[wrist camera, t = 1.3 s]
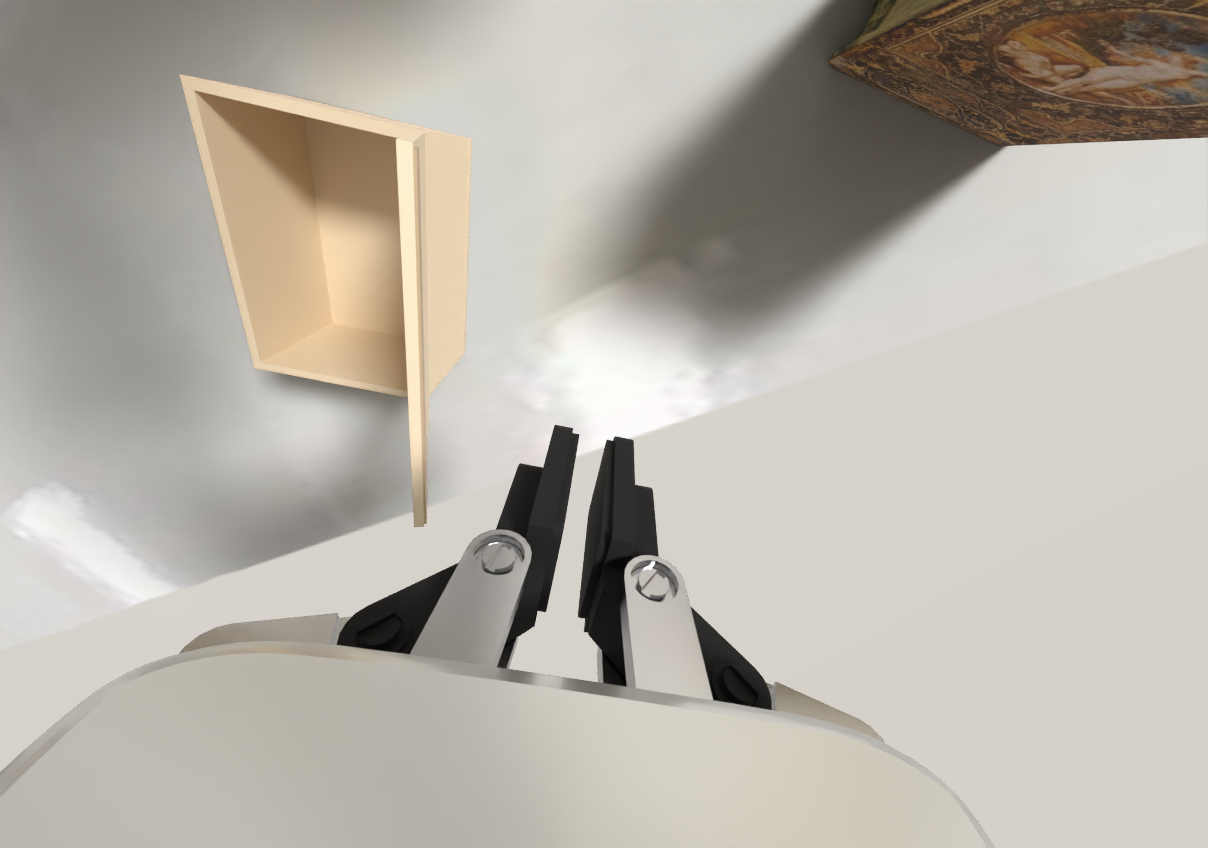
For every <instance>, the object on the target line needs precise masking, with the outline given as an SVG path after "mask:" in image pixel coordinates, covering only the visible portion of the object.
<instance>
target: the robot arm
mask: <svg viewBox="0 0 1208 848" xmlns="http://www.w3.org/2000/svg"><path fill="white" fill-rule="evenodd" d="M572 431H573V428H569V427H564V426H559V425H555V426H554V430H553V433H552V437H551V441H550V445H549V449H548V452H547V456H546V460H545V464H544V467H543V468H542V467H536V466H531V465H525V464H519V466H518V468H517V471H516V474H515V477H514V480H513V482H512V485H511V488H510V491H509V494H508V497H507V500H506V502H505V506H504V508H503V511H502V514H501V517H500V520H499V522H498V525H497V528H496V530H490V531H488V532H485V533H482V534H480V535H479V536H477V537H476V538H474V539H473V540H472V542H471V543H470V544H469V545H468V547H467V549H466V551H465V553H464V555H463V557H462V558H461V560H460V562H459V563H457V564H455V565H453V566H451V567H449V568H447V569H445V570H442V571H440V572H438V573H436V574H434V575H432V576H430V577H428V578H426V579H423V580H421V581H419V582H417V583H415V584H413V585H411V586H409V587H407V588H404V589H403V590H400V591H398V592H396V593H394V594H392V595H390V596H388V597H386V598H383V599H381V600H379V601H377V602H375V603H373V604H371V605H369V606H367V607H365V608H364V609H362V610H360V611H359V612H357V613H355V615H353V616H352V617H344V618H339V617H338V613H334V614H324V615H315V616H304V617H294V618H284V619H275V620H264V621H254V622H244V623H234V624H229V625H224V626H220V627H216V628H214V629H212V630H209V631H207V632H205V633H203V634H201V635H199V636H198V637H197V638H195V639H194V640H193V641H191V642H190V643H189V644H188V645H186V646H185V647H184V648H183V649H182V651H181V652H180V653H179V654H177V655H173V656H170V657H166V658H163V659H160V660H157V661H154V662H151V663H148V664H145V665H143V666H141V667H139V668H136V669H134V670H132V671H130V672H127V673H125V674H123V675H122V676H120V677H118V678H117V679H115V680H113V681H111V682H110V683H108V684H106V685H105V686H103V687H102V688H100V689H99V690H97V691H96V692H95V693H93V694H92V695H90V696H89V697H88V698H86V699H85V700H84V701H82V702H81V703H80V704H78V705H77V706H76V707H74V708H73V709H72V710H71V711H70V712H69V713H67V714H66V715H64V716H63V717H62V718H61V719H60V720H59V721H57V722H56V723H55V724H54V725H53V726H52V727H50V728H49V729H48V730H47V731H46V732H45V733H43V734H42V735H41V736H40V737H39V738H38V739H37V740H35V741H34V742H33V743H32V744H31V745H30V746H28V747H27V748H26V749H25V750H24V751H23V752H22V753H21V754H20V755H18V756H17V757H16V758H15V759H14V760H13V761H12V762H11V763H10V764H9V765H7V766H6V767H5V768H4V769H3V770H2V771H1V772H0V848H995V847H994V845H993V844H992V842H991V840H990V839H989V837H988V836H987V834H986V833H985V831H984V830H983V828H982V827H981V825H980V824H979V822H978V821H977V820H976V818H975V817H974V816H973V814H972V813H971V812H970V810H969V809H968V808H967V806H966V805H965V804H964V803H963V802H962V800H961V799H960V798H959V797H958V796H957V795H956V793H955V792H954V791H953V790H951V788H949V787H948V786H947V785H946V784H945V783H944V782H943V781H942V780H941V779H940V778H938V777H937V776H936V775H934V774H933V773H932V772H930V771H929V770H928V769H927V768H925V767H923V766H922V765H921V764H919V763H918V762H916V761H915V760H913V759H912V758H910V757H908V756H906V755H905V754H903V753H901V752H899V751H898V750H896V749H894V748H892V747H890V746H888V745H887V744H885V742H884V741H883V739H882V738H881V737H880V736H879V735H878V734H877V733H876V732H875V731H874V730H873V729H872V728H871V727H870V726H869V725H867V724H866V723H864V722H863V721H861V720H859V719H858V718H855V717H853V716H851V715H848V714H846V713H844V712H842V711H840V710H837V709H835V708H833V707H831V706H829V705H826V704H824V703H822V702H820V701H818V700H815V699H813V698H811V697H809V696H806V695H804V694H802V693H800V692H797V691H795V690H793V689H791V688H789V687H787V686H784V685H782V684H780V683H778V682H775V683H774V684H773V686H772V685H770V684H768V683H766V682H765V681H764V679H763V677H762V676H761V675H760V674H759V672H758V671H757V670H756V669H755V668H754V667H753V666H752V665H751V664H750V663H749V662H748V661H747V660H746V659H745V658H744V657H743V656H742V655H741V654H740V653H739V652H738V651H737V650H736V649H734V648H733V647H732V646H731V645H730V644H729V643H728V642H727V641H726V640H725V639H724V638H723V637H722V636H721V635H720V634H719V633H718V632H717V631H716V630H714V628H713V627H711V625H709V624H708V623H707V622H706V621H705V620H704V619H703V618H702V617H701V616H700V615H699V614H698V613H697V612H696V611H695V610H694V609H693V608H692V607H691V606H690V604H689V599H688V595H687V591H686V587H685V583H684V580H683V578H682V575H681V574H680V573H679V571H678V570H677V569H676V567H674V566H673V565H672V564H671V563H669V562H668V561H666V560H664V559H662V558H660V557H658V546H657V534H656V522H655V511H654V501H653V500H654V499H653V491H652V488H649V487H644V486H638V485H635V475H634V442H633V440H631V439H626V438H621V437H614V440H613V441H610V440H607V441H606V445H605V449H604V453H603V457H602V461H601V465H600V469H599V473H598V477H597V481H596V485H595V489H594V493H593V497H592V501H591V505H590V509H589V514H588V523H587V532H586V542H585V552H584V561H583V572H582V581H581V590H580V600H579V611H578V617H580V618H585V627H584V632H588V633H589V636H590V637H591V638H592V639H593V641H594V642H595V643H596V644H597V645H598V652H597V668H598V682H591V681H584V680H578V679H571V678H565V677H558V676H551V675H545V674H538V673H532V672H525V671H518V670H512V669H509V666H510V663H511V660H512V657H513V654H514V651H515V648H516V645H517V640H518V636H520V635H521V634H523V633H524V632H526V631H527V630H529V629H530V628H532V627H533V626H535V621H536V616H537V611H542V612H546V609H547V605H548V600H549V595H550V590H551V586H552V581H553V577H554V572H555V567H556V562H557V558H558V553H559V548H560V544H561V539H562V534H563V529H564V523H565V518H566V512H567V506H568V500H569V494H570V488H571V482H572V475H573V469H574V463H575V457H576V451H577V445H578V439H579V434H574V433H572Z"/></svg>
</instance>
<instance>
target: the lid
mask: <svg viewBox="0 0 1208 848" xmlns="http://www.w3.org/2000/svg"><path fill="white" fill-rule="evenodd" d="M396 154H397V175H398V196H399V218H400V239H401V260H402V281H403V302H404V323H405V344H406V365H407V386H408V407H409V428H410V449H411V470H412V491H413V512H414V527H423V526H424V524H426V520H427V448H428V425H429V350H428V292H427V234H426V176H425V132H421V131H416V130H415V131H412V132H410V133H408V134H406V135H404V136H402V137H399V138H397V139H396Z"/></svg>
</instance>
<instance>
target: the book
mask: <svg viewBox="0 0 1208 848" xmlns="http://www.w3.org/2000/svg"><path fill="white" fill-rule="evenodd" d="M829 65H830V66H831V67H832V68H834V69H836V70H838V71H840V72H842V73H845V74H847V75H849V76H851V77H853V78H855V79H857V80H859V81H861V82H863V83H865V84H867V85H869V86H871V87H874V88H876V89H878V90H880V91H882V92H884V93H886V94H889V95H891V96H893V97H895V98H897V99H899V100H902V101H904V102H906V103H908V104H910V105H912V106H914V107H917V108H919V109H921V110H923V111H925V112H927V113H930V114H932V115H934V116H936V117H938V118H940V119H942V120H945V121H947V122H949V123H951V124H953V125H955V126H957V127H960V128H962V129H964V130H966V131H968V132H970V133H973V134H975V135H977V136H979V137H981V138H983V139H985V140H988V141H990V142H992V143H994V144H996V145H998V146H1014V145H1038V144H1061V143H1085V142H1109V141H1133V140H1157V139H1180V138H1204V137H1208V0H876V3H875V6H874V9H873V11H872V14H871V16H870V18H869V20H868V22H867V23H866V25H865V27H864V28H863V30H862V31H861V33H860V34H859V36H858V37H857V38H856V40H855V41H853V42H852V43H850V44H848V45H846V46H844V47H842V48H840V49H838V50H837V51H836V52H834V53H833V54H832V56H831V58H830V61H829Z"/></svg>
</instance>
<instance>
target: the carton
mask: <svg viewBox="0 0 1208 848" xmlns="http://www.w3.org/2000/svg"><path fill="white" fill-rule="evenodd" d="M179 75H180V79H181V83H182V86H183V90H184V94H185V98H186V102H187V106H188V110H189V114H190V118H191V122H192V126H193V129H194V133H195V137H196V141H197V145H198V149H199V153H200V157H201V161H202V165H203V169H204V173H205V176H206V180H207V184H208V188H209V192H210V196H211V200H212V204H213V208H214V212H215V216H216V220H217V223H218V227H219V231H220V235H221V239H222V243H223V247H224V251H225V255H226V259H227V263H228V267H229V270H230V274H231V278H232V282H233V286H234V290H235V294H236V298H237V302H238V306H239V310H240V314H241V317H242V321H243V325H244V329H245V333H246V337H247V341H248V345H249V349H250V353H251V357H252V361H253V364H254V368H256V369H262V370H267V371H272V372H277V373H282V374H287V375H293V376H298V377H303V378H308V379H313V380H318V381H324V382H329V383H334V384H339V385H344V386H350V387H355V388H360V389H365V390H370V391H375V392H381V393H386V394H391V395H396V396H401V397H406V398H408V386H407V365H406V344H405V323H404V302H403V281H402V260H401V239H400V218H399V196H398V175H397V154H396V139H397V138H399V137H402V136H404V135H406V134H408V133H410V132H412V131H415V130H416V131H421V132H425V176H426V234H427V292H428V350H429V395H430V394H431V393H432V392H433V390H434V389H435V388H436V387H437V386H438V384H439V383H440V382H441V381H442V380H443V378H444V377H445V376H446V375H447V374H448V372H449V371H450V370H451V369H452V368H453V366H454V365H455V364H456V363H457V362H458V360H459V359H460V358H461V357H462V356H463V355H464V353H465V335H466V303H467V271H468V239H469V208H470V176H471V144H472V139H470V138H466V137H462V136H458V135H453V134H449V133H445V132H441V131H437V130H432V129H428V128H424V127H420V126H416V125H411V124H407V123H403V122H399V121H395V120H390V119H386V118H382V117H378V116H374V115H369V114H365V113H361V112H357V111H353V110H348V109H344V108H340V107H336V106H332V105H327V104H323V103H319V102H315V101H311V100H306V99H302V98H298V97H293V96H288V95H283V94H278V93H273V92H268V91H263V90H257V89H252V88H247V87H242V86H237V85H232V84H227V83H222V82H217V81H212V80H207V79H202V78H197V77H192V76H187V75H181V74H179Z"/></svg>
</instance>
